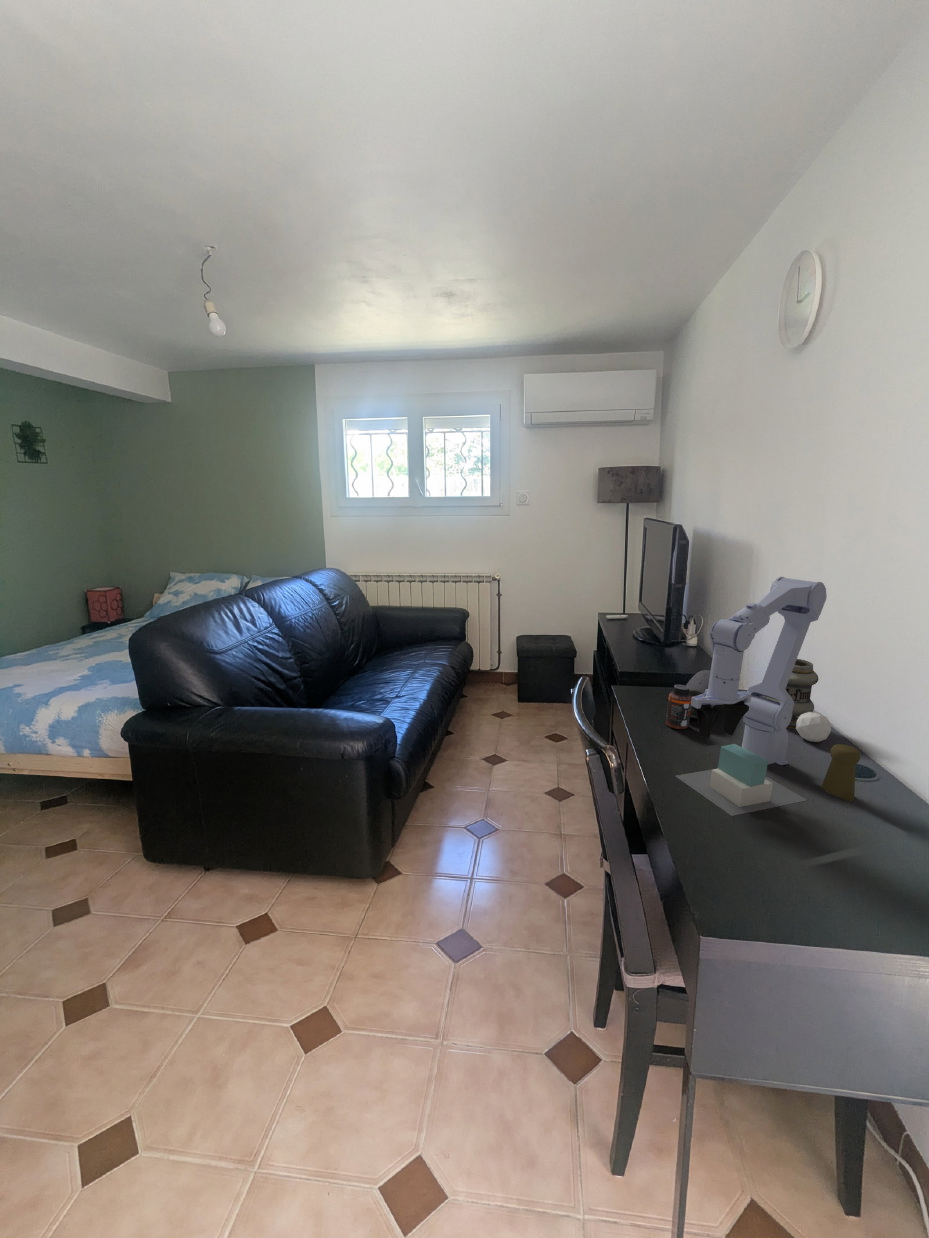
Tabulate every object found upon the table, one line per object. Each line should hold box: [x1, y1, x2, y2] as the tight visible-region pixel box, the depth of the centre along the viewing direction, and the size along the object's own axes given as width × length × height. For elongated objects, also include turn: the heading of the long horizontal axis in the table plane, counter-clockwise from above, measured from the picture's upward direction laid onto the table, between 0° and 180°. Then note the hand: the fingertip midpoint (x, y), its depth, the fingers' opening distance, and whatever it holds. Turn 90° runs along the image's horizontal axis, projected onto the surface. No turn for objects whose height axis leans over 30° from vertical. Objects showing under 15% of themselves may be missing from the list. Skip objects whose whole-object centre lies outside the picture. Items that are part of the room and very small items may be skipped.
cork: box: [821, 743, 861, 803], centre depth 114 cm, size 6×6×11 cm
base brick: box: [710, 768, 773, 807], centre depth 112 cm, size 8×8×4 cm
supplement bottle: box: [665, 684, 692, 730], centre depth 147 cm, size 6×6×11 cm
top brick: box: [717, 743, 769, 787], centre depth 111 cm, size 4×8×5 cm, turn 23°
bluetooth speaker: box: [685, 669, 715, 719], centre depth 159 cm, size 23×9×10 cm, turn 148°
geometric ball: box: [795, 711, 832, 743], centre depth 141 cm, size 8×8×8 cm
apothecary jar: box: [764, 658, 819, 730], centre depth 151 cm, size 12×12×18 cm
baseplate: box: [675, 768, 808, 817], centre depth 115 cm, size 20×16×1 cm
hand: (716, 735), depth 117 cm, fingers open, 6 cm apart
